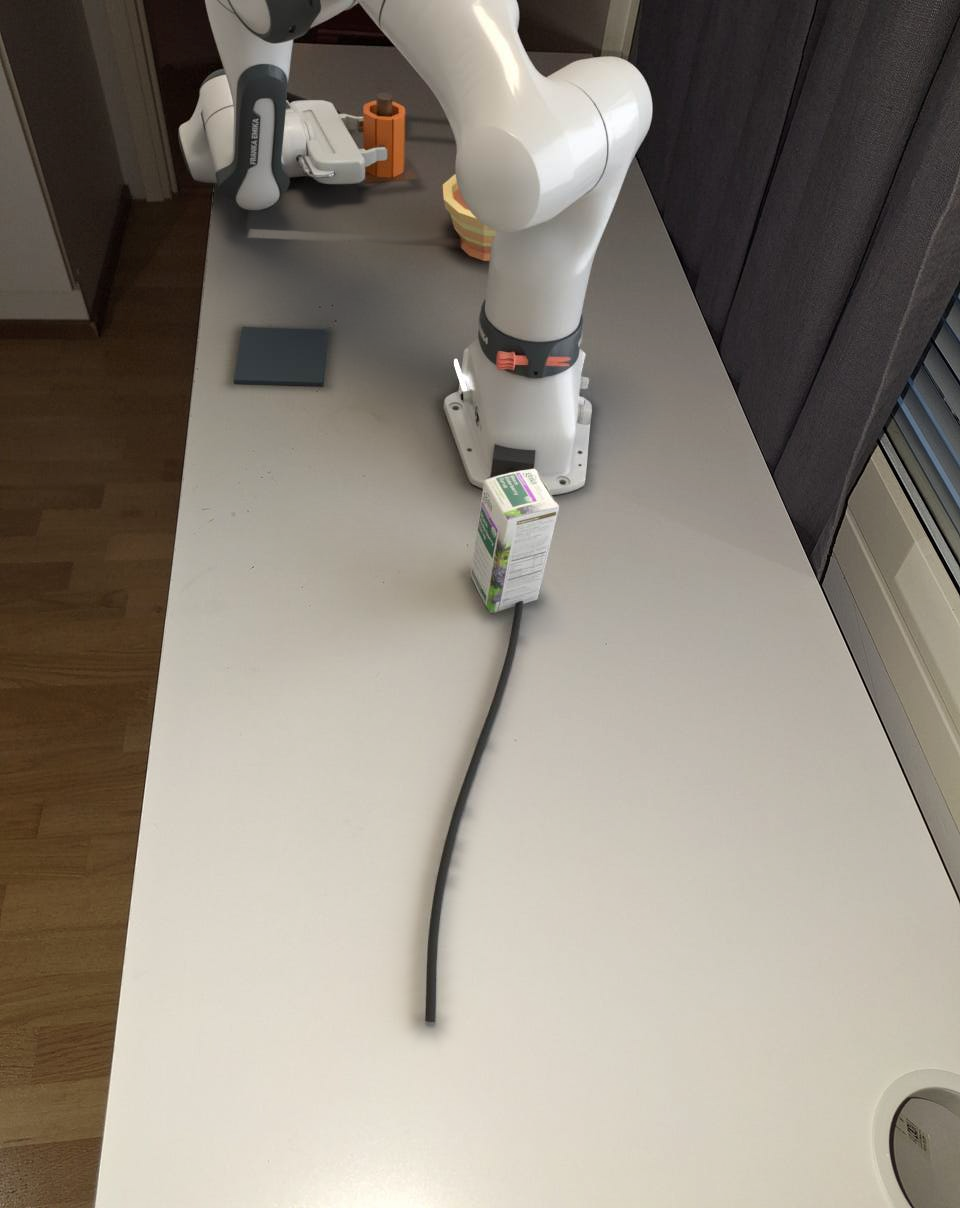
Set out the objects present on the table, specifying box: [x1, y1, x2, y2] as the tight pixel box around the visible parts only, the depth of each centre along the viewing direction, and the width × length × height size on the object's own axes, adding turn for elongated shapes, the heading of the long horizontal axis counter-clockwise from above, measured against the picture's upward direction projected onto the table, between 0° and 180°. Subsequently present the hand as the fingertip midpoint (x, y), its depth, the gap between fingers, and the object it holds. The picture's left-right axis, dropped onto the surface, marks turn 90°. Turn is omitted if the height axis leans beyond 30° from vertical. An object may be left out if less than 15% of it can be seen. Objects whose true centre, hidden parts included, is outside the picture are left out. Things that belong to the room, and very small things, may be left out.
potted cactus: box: [442, 173, 497, 262], centre depth 127 cm, size 15×15×25 cm
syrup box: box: [470, 469, 560, 614], centre depth 91 cm, size 6×6×14 cm
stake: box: [362, 92, 420, 185], centre depth 142 cm, size 9×9×12 cm
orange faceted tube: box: [362, 100, 406, 178], centre depth 142 cm, size 6×6×9 cm
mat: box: [233, 326, 328, 387], centre depth 116 cm, size 11×11×1 cm
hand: (377, 137), depth 142 cm, fingers open, 8 cm apart
